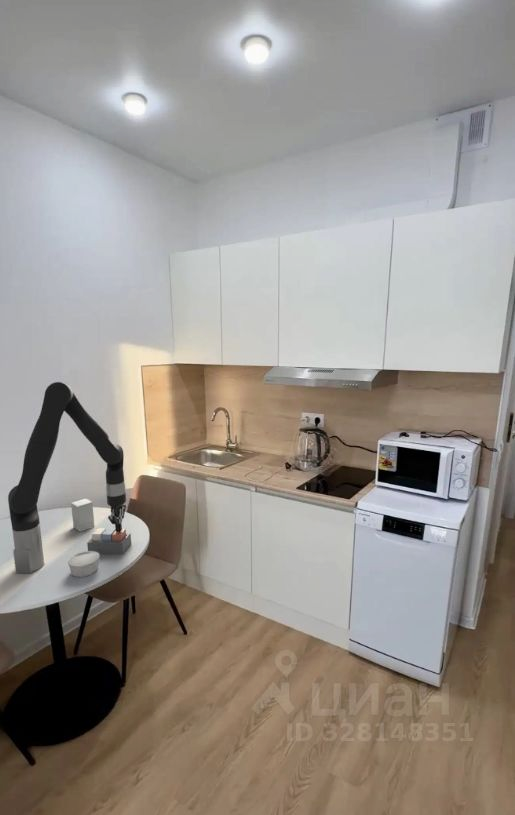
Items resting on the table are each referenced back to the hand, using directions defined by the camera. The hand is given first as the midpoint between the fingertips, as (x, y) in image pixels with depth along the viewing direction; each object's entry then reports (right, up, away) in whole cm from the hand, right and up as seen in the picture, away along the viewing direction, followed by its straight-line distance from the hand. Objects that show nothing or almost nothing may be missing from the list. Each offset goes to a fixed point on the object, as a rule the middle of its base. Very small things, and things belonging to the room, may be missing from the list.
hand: (118, 531), depth 165 cm
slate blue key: (-4, -5, +1) cm, 7 cm away
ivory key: (-9, -5, +2) cm, 10 cm away
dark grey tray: (-4, -8, +2) cm, 9 cm away
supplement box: (-25, -5, +22) cm, 33 cm away
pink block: (0, -5, +1) cm, 5 cm away
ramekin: (-8, -11, -14) cm, 20 cm away
